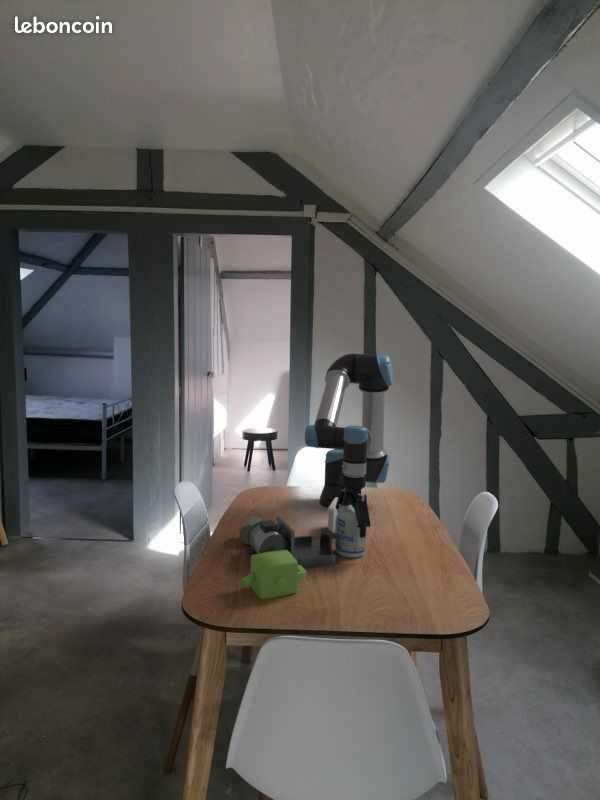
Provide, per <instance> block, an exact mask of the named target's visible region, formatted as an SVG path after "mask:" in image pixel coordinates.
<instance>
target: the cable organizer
mask: <svg viewBox="0 0 600 800" xmlns="http://www.w3.org/2000/svg"><path fill="white" fill-rule="evenodd" d="M337 500H338V497H335V499H333V501H332V503H331V505H330V507H327V511H326V512H327V514H328V520H327V523H328V524H327V528H328V529H329V530H331V531H332V532H333V533H334V534H335V535H336V534H337V517H338V509H336V508H335V507H336V503H337Z"/></svg>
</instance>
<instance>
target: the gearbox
mask: <svg viewBox="0 0 600 800" xmlns="http://www.w3.org/2000/svg"><path fill="white" fill-rule="evenodd" d="M307 575H308V572H307V571H306V568H303V567H302V566H301V565H298V562H297V561H296V559H295V558H294V557H293V556H292V554H291V553H290V552H289V551H287V550H279V551H271V552H265V553H259V554H254V555H251V562H250V573H249V574H248V575H246V576H245V577H244V578H242V579H241V580H240V586H242V587H244V588H247V587H248V586H249V585H250V587H251V589H252V590H253V592H254V593H255V595H256V596H257V597H258V598H259V599H260V600H266V599H272V598H278V597H279V598H280V597H284V596H288V595H289V596H290V595H294V594H296V593H297V592H298V580H299V581H300V580H304V579H306V578H307Z"/></svg>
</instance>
